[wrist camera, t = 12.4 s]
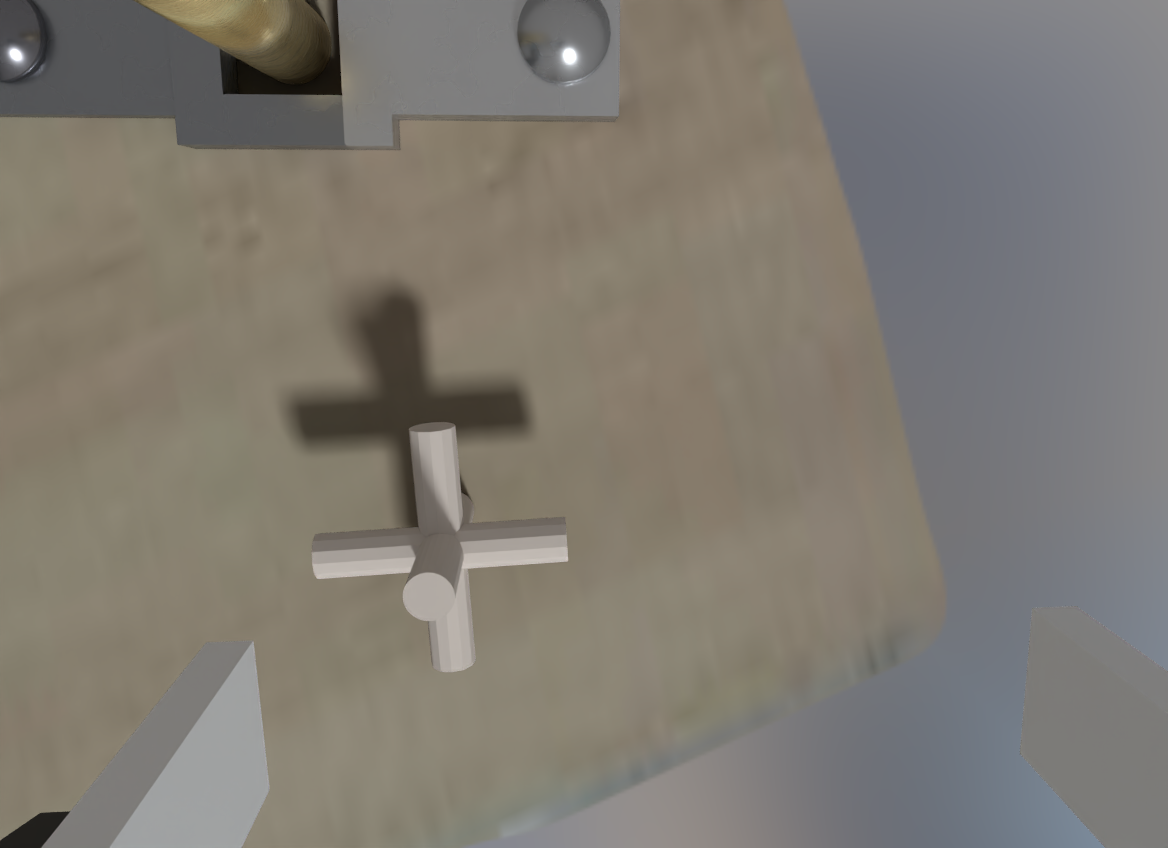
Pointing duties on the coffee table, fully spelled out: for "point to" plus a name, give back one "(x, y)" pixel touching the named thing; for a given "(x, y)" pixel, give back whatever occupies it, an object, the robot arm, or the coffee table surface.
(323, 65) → the pin
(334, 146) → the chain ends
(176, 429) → the coffee table surface
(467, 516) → the pipe connector
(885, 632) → the coffee table surface
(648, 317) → the coffee table surface
